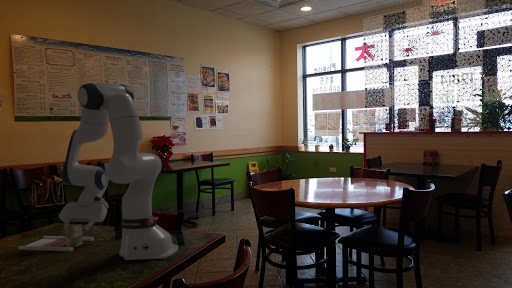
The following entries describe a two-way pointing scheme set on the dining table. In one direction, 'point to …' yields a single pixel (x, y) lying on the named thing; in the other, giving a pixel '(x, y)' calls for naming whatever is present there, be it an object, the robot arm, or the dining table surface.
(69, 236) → the maple block
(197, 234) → the dining table surface
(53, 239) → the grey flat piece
